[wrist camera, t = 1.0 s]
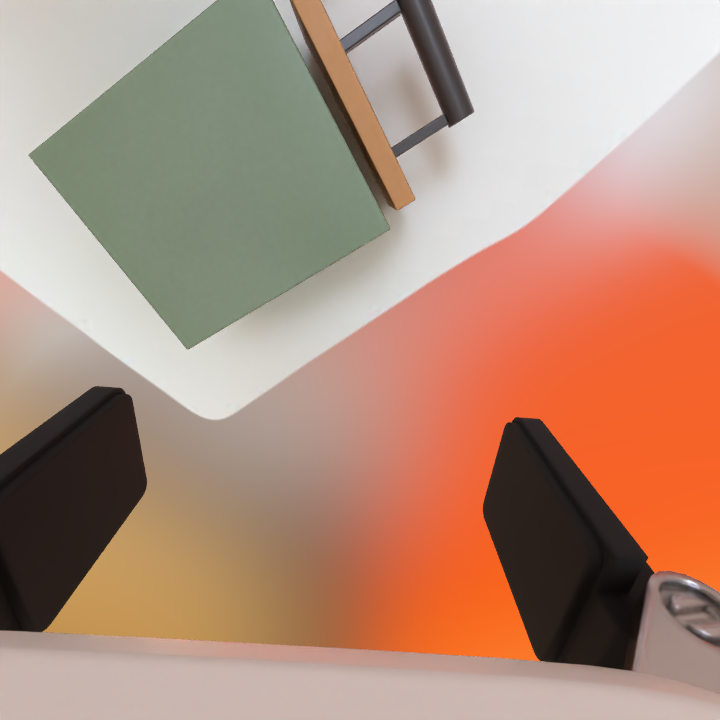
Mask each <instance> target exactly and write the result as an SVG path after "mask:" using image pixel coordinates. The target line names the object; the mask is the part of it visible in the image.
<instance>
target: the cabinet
mask: <svg viewBox="0 0 720 720" xmlns="http://www.w3.org/2000/svg"><path fill="white" fill-rule="evenodd" d="M29 156H30V158H31V159H32V160H33V161H34V163H35V164H36V165H37V166H38V167H39V169H40V170H41V171H42V172H43V174H44V175H45V176H46V177H47V178H48V180H49V181H50V182H51V183H52V185H53V186H54V187H55V188H56V190H57V191H58V192H59V193H60V194H61V196H62V197H63V198H64V199H65V201H66V202H67V203H68V204H69V205H70V207H71V208H72V209H73V210H74V212H75V213H76V214H77V215H78V216H79V218H80V219H81V220H82V221H83V223H84V224H85V225H86V226H87V227H88V229H89V230H90V231H91V232H92V234H93V235H94V236H95V237H96V238H97V240H98V241H99V242H100V243H101V245H102V246H103V247H104V248H105V249H106V251H107V252H108V253H109V254H110V256H111V257H112V258H113V259H114V260H115V262H116V263H117V264H118V265H119V267H120V268H121V269H122V270H123V272H124V273H125V274H126V275H127V276H128V278H129V279H130V280H131V281H132V283H133V284H134V285H135V286H136V287H137V289H138V290H139V291H140V292H141V294H142V295H143V296H144V297H145V298H146V300H147V301H148V302H149V303H150V305H151V306H152V307H153V308H154V309H155V311H156V312H157V313H158V314H159V316H160V317H161V318H162V319H163V320H164V322H165V323H166V324H167V325H168V327H169V328H170V329H171V330H172V331H173V333H174V334H175V335H176V336H177V338H178V339H179V340H180V341H181V342H182V344H183V345H184V346H185V347H186V349H190V348H192V347H193V346H195V345H197V344H198V343H200V342H202V341H203V340H205V339H207V338H208V337H210V336H212V335H213V334H215V333H217V332H219V331H220V330H222V329H224V328H225V327H227V326H229V325H230V324H232V323H234V322H235V321H237V320H239V319H240V318H242V317H244V316H245V315H247V314H249V313H250V312H252V311H254V310H256V309H257V308H259V307H261V306H262V305H264V304H266V303H267V302H269V301H271V300H272V299H274V298H276V297H277V296H279V295H281V294H282V293H284V292H286V291H287V290H289V289H291V288H293V287H294V286H296V285H298V284H299V283H301V282H303V281H304V280H306V279H308V278H309V277H311V276H313V275H314V274H316V273H318V272H319V271H321V270H323V269H324V268H326V267H328V266H330V265H331V264H333V263H335V262H336V261H338V260H340V259H341V258H343V257H345V256H346V255H348V254H350V253H351V252H353V251H355V250H356V249H358V248H360V247H361V246H363V245H365V244H367V243H368V242H370V241H372V240H373V239H375V238H377V237H378V236H380V235H382V234H383V233H385V232H387V231H388V230H390V227H389V225H388V223H387V221H386V219H385V217H384V215H383V213H382V211H381V209H380V207H379V205H378V203H377V201H376V199H375V198H374V196H373V194H372V192H371V190H370V188H369V186H368V184H367V182H366V180H365V178H364V176H363V174H362V172H361V170H360V168H359V167H358V165H357V163H356V161H355V159H354V157H353V155H352V153H351V151H350V149H349V147H348V145H347V143H346V141H345V139H344V138H343V136H342V134H341V132H340V130H339V128H338V126H337V124H336V122H335V120H334V118H333V116H332V114H331V112H330V110H329V108H328V107H327V105H326V103H325V101H324V99H323V97H322V95H321V93H320V91H319V89H318V87H317V85H316V83H315V81H314V79H313V77H312V76H311V74H310V72H309V70H308V68H307V66H306V64H305V62H304V60H303V58H302V56H301V54H300V52H299V50H298V48H297V47H296V45H295V43H294V41H293V39H292V37H291V35H290V33H289V31H288V29H287V27H286V25H285V23H284V21H283V19H282V17H281V16H280V14H279V12H278V10H277V8H276V6H275V4H274V2H273V0H217V1H216V2H214V3H213V4H212V5H211V6H210V7H208V8H207V9H206V10H205V11H203V12H202V13H201V14H200V15H199V16H197V17H196V18H195V19H194V20H192V21H191V22H190V23H189V24H188V25H186V26H185V27H184V28H183V29H182V30H180V31H179V32H178V33H177V34H175V35H174V36H173V37H172V38H171V39H169V40H168V41H167V42H166V43H164V44H163V45H162V46H161V47H160V48H158V49H157V50H156V51H155V52H153V53H152V54H151V55H150V56H149V57H147V58H146V59H145V60H144V61H142V62H141V63H140V64H139V65H138V66H136V67H135V68H134V69H133V70H132V71H130V72H129V73H128V74H127V75H125V76H124V77H123V78H122V79H121V80H119V81H118V82H117V83H116V84H114V85H113V86H112V87H111V88H110V89H108V90H107V91H106V92H105V93H103V94H102V95H101V96H100V97H99V98H97V99H96V100H95V101H94V102H92V103H91V104H90V105H89V106H88V107H86V108H85V109H84V110H83V111H82V112H80V113H79V114H78V115H77V116H75V117H74V118H73V119H72V120H71V121H69V122H68V123H67V124H66V125H64V126H63V127H62V128H61V129H60V130H58V131H57V132H56V133H55V134H53V135H52V136H51V137H50V138H49V139H47V140H46V141H45V142H44V143H42V144H41V145H40V146H39V147H38V148H36V149H35V150H34V151H33V152H32V153H30V154H29Z"/></svg>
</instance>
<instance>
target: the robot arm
mask: <svg viewBox="0 0 720 720" xmlns="http://www.w3.org/2000/svg"><path fill="white" fill-rule="evenodd" d="M146 486H147V478H146V473H145V467H144V462H143V456H142V451H141V445H140V439H139V434H138V428H137V423H136V417H135V412H134V406H133V401H132V398H131V396H130V395H128V394H126V393H125V391H124V390H123V389H121V388H113V387H99V386H95V387H93V388H91V389H90V390H88V391H87V392H85V393H84V394H83V395H81V396H80V397H79V398H77V399H76V400H75V401H73V402H72V403H70V404H69V405H68V406H66V407H65V408H64V409H62V410H61V411H59V412H58V413H57V414H55V415H54V416H53V417H51V418H50V419H48V420H47V421H46V422H44V423H43V424H42V425H40V426H39V427H38V428H36V429H35V430H33V431H32V432H31V433H29V434H28V435H27V436H25V437H24V438H23V439H21V440H20V441H18V442H17V443H16V444H14V445H13V446H12V447H10V448H9V449H7V450H6V451H5V452H3V453H2V454H0V720H720V593H719V592H718V591H716V590H715V589H713V588H711V587H710V586H708V585H706V584H704V583H703V582H701V581H699V580H697V579H694V578H692V577H690V576H687V575H685V574H681V573H676V572H672V571H659V572H657V573H654V572H653V571H652V569H651V568H650V566H649V565H648V564H647V563H646V560H647V559H648V556H647V555H646V554H645V553H644V551H643V550H642V549H641V548H640V546H639V545H638V544H637V542H636V541H635V540H634V538H633V537H632V536H631V535H630V534H629V532H628V531H627V529H626V528H625V527H624V526H623V524H622V523H621V522H620V521H619V519H618V518H617V517H616V515H615V514H614V513H613V511H612V510H611V509H610V508H609V506H608V505H607V504H606V503H605V501H604V500H603V499H602V497H601V496H600V495H599V494H598V492H597V491H596V490H595V488H594V487H593V486H592V485H591V483H590V482H589V481H588V479H587V478H586V477H585V476H584V474H583V473H582V472H581V471H580V469H579V468H578V467H577V465H576V464H575V463H574V462H573V460H572V459H571V458H570V456H569V455H568V454H567V453H566V451H565V450H564V449H563V447H562V446H561V445H560V444H559V442H558V441H557V440H556V438H555V437H554V436H553V435H552V433H551V432H550V431H549V429H548V428H547V427H546V426H545V424H544V423H543V422H542V421H541V420H540V419H532V418H518V417H516V418H514V420H513V421H512V423H507V424H506V425H505V428H504V431H503V435H502V439H501V442H500V446H499V449H498V453H497V456H496V460H495V464H494V467H493V471H492V474H491V478H490V482H489V485H488V489H487V492H486V496H485V500H484V504H483V514H484V519H485V521H486V524H487V527H488V529H489V532H490V535H491V538H492V540H493V543H494V546H495V548H496V551H497V554H498V556H499V559H500V562H501V564H502V567H503V570H504V572H505V575H506V578H507V580H508V583H509V586H510V589H511V591H512V594H513V596H514V599H515V602H516V605H517V607H518V610H519V613H520V615H521V618H522V621H523V623H524V626H525V629H526V631H527V634H528V637H529V640H530V642H531V645H532V648H533V650H534V653H535V655H536V656H537V658H538V659H539V660H540V661H529V660H516V659H504V658H490V657H474V656H458V655H442V654H426V653H409V652H394V651H376V650H361V649H345V648H327V647H310V646H309V647H308V646H292V645H274V644H257V643H239V642H220V641H202V640H184V639H166V638H165V639H164V638H146V637H125V636H106V635H86V634H66V633H46V632H44V633H43V631H44V630H45V629H47V628H48V626H49V625H50V624H51V623H52V621H53V620H54V619H55V617H56V616H57V615H58V613H59V612H60V610H61V609H62V608H63V606H64V605H65V603H66V602H67V601H68V599H69V598H70V596H71V595H72V594H73V592H74V591H75V589H76V588H77V587H78V585H79V584H80V582H81V581H82V580H83V578H84V577H85V576H86V574H87V573H88V571H89V570H90V569H91V567H92V566H93V564H94V563H95V562H96V560H97V559H98V557H99V556H100V554H101V553H102V552H103V551H104V549H105V548H106V546H107V545H108V544H109V542H110V541H111V539H112V538H113V537H114V535H115V534H116V532H117V531H118V530H119V528H120V527H121V525H122V524H123V523H124V521H125V520H126V519H127V517H128V516H129V514H130V513H131V512H132V510H133V509H134V507H135V506H136V505H137V503H138V502H139V500H140V499H141V498H142V496H143V495H144V493H145V490H146ZM541 661H545V662H541Z"/></svg>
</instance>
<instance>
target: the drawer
mask: <svg viewBox="0 0 720 720" xmlns="http://www.w3.org/2000/svg"><path fill="white" fill-rule="evenodd" d="M290 3H291V5H292V8H293V11H294V13H295V16H296V18H297V21H298V24H299V26H300V29H301V32H302V34H303V37H304V39H305V42H306V44H307V46H308V48H309V50H310V52H311V54H312V56H313V58H314V60H315V62H316V64H317V66H318V68H319V70H320V72H321V74H322V76H323V78H324V79H325V81H326V83H327V85H328V87H329V89H330V91H331V93H332V95H333V97H334V99H335V101H336V103H337V105H338V107H339V109H340V111H341V113H342V115H343V117H344V119H345V121H346V123H347V125H348V127H349V129H350V131H351V133H352V135H353V137H354V139H355V141H356V143H357V145H358V147H359V149H360V150H361V152H362V154H363V156H364V158H365V160H366V162H367V164H368V166H369V168H370V170H371V172H372V174H373V176H374V178H375V180H376V182H377V184H378V186H379V188H380V190H381V192H382V194H383V196H384V198H385V200H386V202H387V204H388V205H389V206H391V207H392V208H394V209H396V210H399V209H401V208H403V207H404V206H406V205H407V204H409V203H411V202H412V201H414V200H415V197H414V195H413V193H412V191H411V189H410V187H409V184H408V182H407V180H406V178H405V176H404V174H403V172H402V170H401V168H400V166H399V164H398V161H397V159H396V157H398V156H399V155H401V154H403V153H404V152H406V151H407V150H409V149H410V148H412V147H414V146H415V145H417V144H418V143H420V142H421V141H423V140H425V139H426V138H428V137H429V136H431V135H432V134H434V133H436V132H437V131H439V130H440V129H442V128H443V127H445V126H446V125H448V127H449V128H450V127H452V126H453V125H455V124H457V123H458V122H460V121H461V120H463V119H464V118H466V117H468V116H469V115H471V114H472V113H473V112H474V109H473V107H472V104H471V101H470V99H469V96H468V94H467V91H466V89H465V86H464V83H463V81H462V78H461V76H460V73H459V71H458V68H457V65H456V63H455V60H454V58H453V55H452V52H451V50H450V47H449V45H448V42H447V40H446V37H445V34H444V32H443V29H442V27H441V24H440V22H439V19H438V16H437V14H436V11H435V9H434V6H433V3H432V1H431V0H394V1H393V2H391V3H390V4H389V5H387V6H386V7H385V8H383V9H382V10H380V11H379V12H378V13H376V14H375V15H374V16H372V17H371V18H370V19H368V20H367V21H365V22H364V23H363V24H361V25H360V26H359V27H357V28H356V29H354V30H353V31H352V32H350V33H349V34H348V35H346V36H345V37H344V38H342V39H341V40H339V38H338V36H337V34H336V32H335V30H334V27H333V25H332V23H331V21H330V19H329V17H328V15H327V13H326V11H325V9H324V7H323V4H322V2H321V0H290ZM400 14H402V17H403V19H404V22H405V24H406V26H407V29H408V31H409V34H410V36H411V38H412V41H413V43H414V46H415V48H416V50H417V53H418V55H419V58H420V60H421V62H422V65H423V67H424V70H425V72H426V74H427V77H428V79H429V82H430V84H431V86H432V89H433V91H434V94H435V96H436V98H437V101H438V103H439V106H440V108H441V110H442V113H443V115H441V116H440V117H438V118H437V119H435V120H434V121H432V122H431V123H429V124H427V125H426V126H424V127H423V128H421V129H420V130H418V131H417V132H415V133H413V134H412V135H410V136H409V137H407V138H406V139H404V140H403V141H401V142H399V143H398V144H396V145H395V146H393V147H392V148H391V147H390V145H389V143H388V141H387V138H386V136H385V134H384V132H383V130H382V128H381V126H380V124H379V122H378V120H377V117H376V115H375V113H374V111H373V109H372V107H371V105H370V103H369V101H368V99H367V97H366V94H365V92H364V90H363V88H362V86H361V84H360V82H359V80H358V78H357V76H356V74H355V71H354V69H353V67H352V65H351V63H350V61H349V59H348V57H347V55H346V54H347V53H349V52H350V51H351V50H353V49H354V48H356V47H357V46H358V45H360V44H361V43H362V42H364V41H365V40H367V39H368V38H369V37H371V36H372V35H374V34H375V33H376V32H378V31H379V30H381V29H382V28H383V27H385V26H386V25H387V24H389V23H390V22H392V21H393V20H394V19H396V18H397V17H399V16H400Z"/></svg>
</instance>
